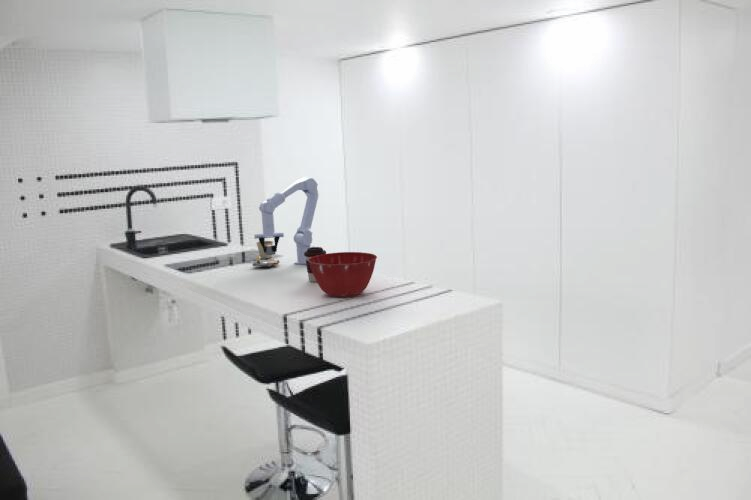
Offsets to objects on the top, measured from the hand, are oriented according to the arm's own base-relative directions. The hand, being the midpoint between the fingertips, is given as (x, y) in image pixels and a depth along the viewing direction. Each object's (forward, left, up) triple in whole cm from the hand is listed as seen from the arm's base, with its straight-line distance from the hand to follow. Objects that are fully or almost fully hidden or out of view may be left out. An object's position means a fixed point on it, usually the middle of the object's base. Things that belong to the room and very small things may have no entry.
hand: (270, 251), depth 337 cm
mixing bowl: (-57, +44, -9) cm, 73 cm away
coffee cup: (-35, +23, -9) cm, 43 cm away
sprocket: (+5, -3, -7) cm, 9 cm away
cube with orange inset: (0, 0, -1) cm, 1 cm away
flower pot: (+17, -25, -9) cm, 31 cm away
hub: (+5, -3, -8) cm, 10 cm away
